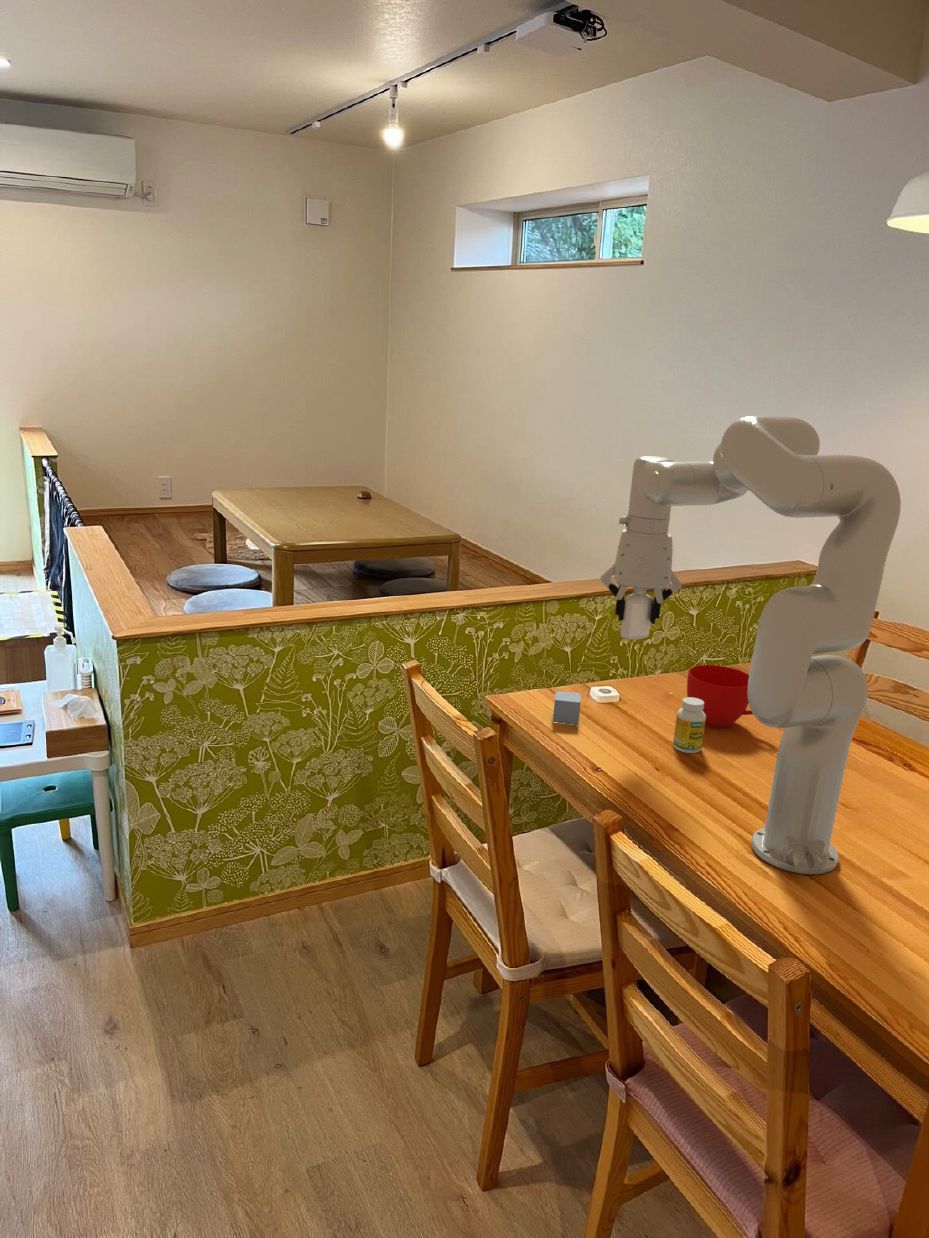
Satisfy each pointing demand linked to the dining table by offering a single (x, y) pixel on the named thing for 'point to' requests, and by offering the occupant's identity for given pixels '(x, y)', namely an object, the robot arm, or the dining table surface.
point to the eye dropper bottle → (637, 615)
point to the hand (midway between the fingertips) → (636, 619)
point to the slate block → (567, 707)
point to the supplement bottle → (689, 726)
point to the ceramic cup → (719, 693)
